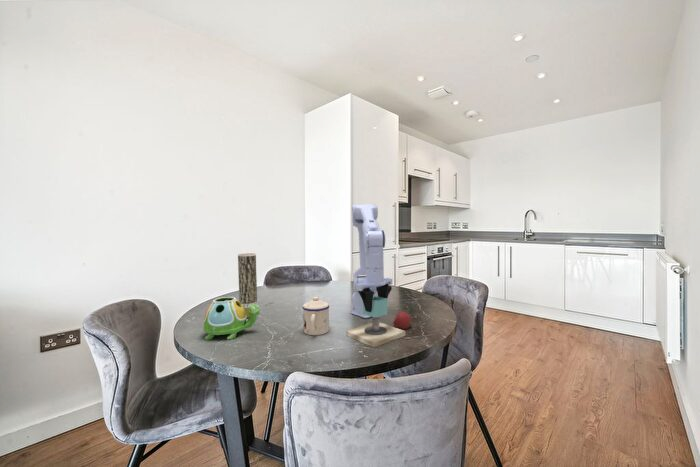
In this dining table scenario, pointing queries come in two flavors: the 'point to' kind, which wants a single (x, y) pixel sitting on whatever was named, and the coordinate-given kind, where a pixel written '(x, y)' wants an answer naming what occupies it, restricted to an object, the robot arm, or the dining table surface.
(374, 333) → the post base
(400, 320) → the fruit
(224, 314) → the turtle holder
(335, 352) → the dining table surface
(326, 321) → the teacup with lid
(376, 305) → the collar
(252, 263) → the bark log
